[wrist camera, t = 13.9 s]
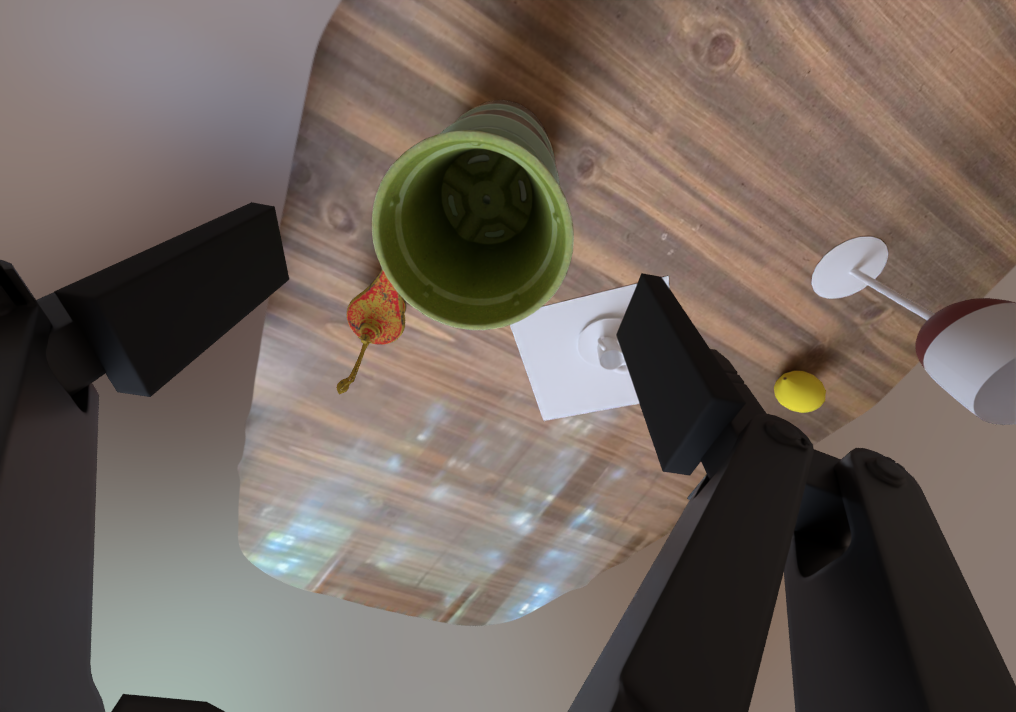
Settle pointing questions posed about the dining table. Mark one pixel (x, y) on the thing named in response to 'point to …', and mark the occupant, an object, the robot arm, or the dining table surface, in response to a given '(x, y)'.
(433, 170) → the plant pot
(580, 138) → the dining table surface
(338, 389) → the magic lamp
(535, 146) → the cup stack
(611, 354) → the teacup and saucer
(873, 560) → the robot arm
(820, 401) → the lemon
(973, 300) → the wineglass
